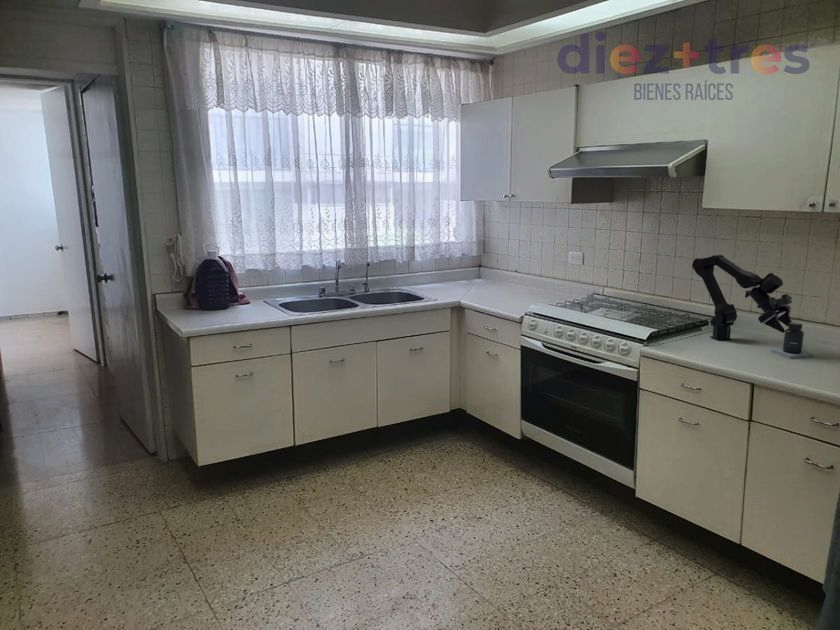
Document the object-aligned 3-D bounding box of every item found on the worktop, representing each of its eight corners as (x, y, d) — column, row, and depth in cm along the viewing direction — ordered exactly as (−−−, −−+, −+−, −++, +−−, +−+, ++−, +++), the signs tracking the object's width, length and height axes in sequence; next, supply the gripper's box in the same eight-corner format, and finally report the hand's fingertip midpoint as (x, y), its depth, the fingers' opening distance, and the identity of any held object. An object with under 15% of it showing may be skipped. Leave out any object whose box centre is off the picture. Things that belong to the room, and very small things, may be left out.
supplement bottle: (789, 354, 250) (792, 325, 247) (778, 350, 257) (781, 321, 254) (805, 353, 250) (809, 324, 248) (794, 349, 257) (798, 321, 254)
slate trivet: (790, 358, 247) (790, 356, 247) (770, 351, 258) (770, 349, 258) (814, 356, 249) (815, 354, 249) (794, 349, 260) (794, 347, 259)
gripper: (769, 291, 248) (796, 322, 242) (788, 285, 259) (814, 315, 254) (747, 307, 256) (772, 338, 250) (766, 301, 267) (791, 330, 261)
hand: (788, 330), depth 253 cm, fingers open, 9 cm apart
